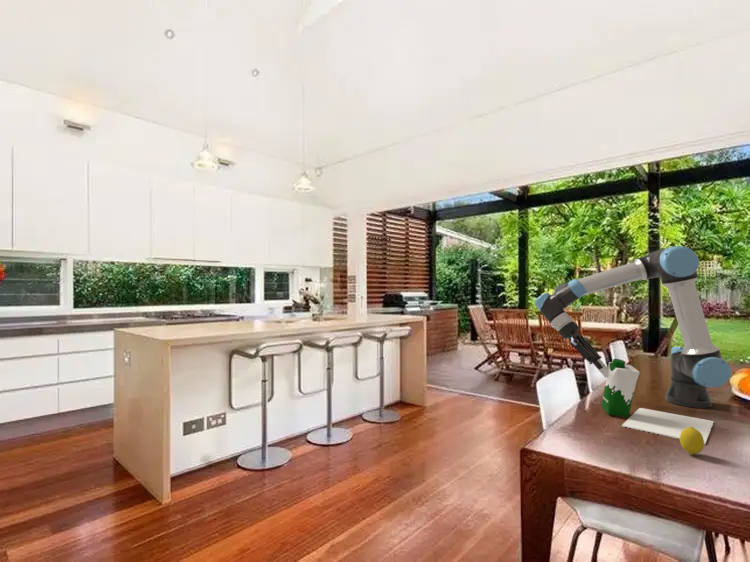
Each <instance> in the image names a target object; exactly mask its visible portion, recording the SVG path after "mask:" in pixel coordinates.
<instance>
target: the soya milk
mask: <svg viewBox="0 0 750 562" xmlns="http://www.w3.org/2000/svg"><path fill="white" fill-rule="evenodd" d="M607 367H608V376H607V377H606V381H605V385H604V390H603V395H602V400H601V405H600V406H601V408H602V409H603V410H604V411H605V412H606V414H607V415H609V416H616V417H621V416H624V417H623V418H628V417H629V418H630V413H631V408H632V403H633V398H634V394H635V391H636V390H635V389H636V385H637V381H638V378H639V376H640V372H641V371H639V370H638V369H636V368H635V367H634V366H632V365H631V364H626V361H625V360H623V359H619V358H613V359H612V361H608V366H607Z"/></svg>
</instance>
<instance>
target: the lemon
mask: <svg viewBox="0 0 750 562" xmlns="http://www.w3.org/2000/svg"><path fill="white" fill-rule="evenodd" d="M679 443H680V446H681V447H682V448H683V449H684V451H686V453H687V452H688V454H689V455H692V456H693V455H695V454H700V452H702V451H703V449H704V447H705V445H704V439H703V436H702V434H701V433H700V432H699V431H698V430H696V429H694V428H693V427H690V428H686V429H684V430H683V431H682V432H681V435H680V439H679Z"/></svg>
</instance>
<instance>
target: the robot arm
mask: <svg viewBox="0 0 750 562" xmlns="http://www.w3.org/2000/svg"><path fill="white" fill-rule="evenodd" d="M699 266H700V259H699V257H698V255H697V253H696V252H695V251H694V250H693V249H691V248H689V247H687V246H681V245H680V246H678V245H675V246H670V247H666V248H665V247H664V248H661V249H657V250H655V251H652V252H650V253H648V254H646V255H644V256H641V257H638V258H635V259H634V261H632V262H629V263H627V264H622V265H621V266H617V267H613V268H610V269H607V270H603V271H601V272H597V273H594V274H590V275H588V276H585V277H581V278H578V279H577V278H573V279H572V280H570V281H568V282H565V283H560V284H558V285H557V286H555V288H554V291H553V293H552V294H550V293H549V292H545V293H543V294H541V295H539V296H538V297H537V298H536V299H535V301H534V306H535V307H536V308H537V309H538V311H539V312H540V313H541V315H542V316H543V317H544V318H545V319H546V320H547V322H549V323H550V324H551V327H552V328H553V329H555V330H556V331H557V332H558V334H559V335H560V336H561V337H562V339H564V340H566V339H568V340H569V341H570V342H569V344H570V345H571V346H572V347H573V348H574V349H575V350H576V351H577V352H578V353H579V354H581V356H582V357H583V358H584V359H585V360H586V361H587V362H588V363H589V365H592V364H593V366H594V367H595V368H596V369H597V370H598V371H599V372H600V374H601V375H602V376H603V377H604V378H606V379H607V376H608V366H607V365H606V364H605V363H604V362H603V361H602V360H601V359H602V356H601V355H600V354H599V353H598V352H597V350H596V349H595V347H593V345H592V344H591V343H590V342H589V340H588V338H587V337H584V336H583V335H582V334H580V333H579V332H578V331H579V330H580V326H579V325H578V324H577V323H576V322H575V321H573V318H572V316H570V315H569V314H568V312H566V311H565V309H566V308H568V307H569V306H571V304H573V303H575V302H576V301H577V300H579V299H581V298H583V296H587V295H590V294H594V293H597V292H601V291H604V290H607V289H611V288H614V287H617V286H621V285H624V284H625V285H626V284H628V283H631V282H634V281H638V280H643V281H646V280H649V279H654V278H659V279H660V282H661V285H662V286H664V287H665V288H667V290H668V293H669V297H670V300H671V304H672V307H673V310H674V314H675V317H676V320H677V321H676V322H677V324H678V328H679V331H680V335H681V338H682V342H683V345H684V346H673V347H672V348H671V351H670V352H671V353H670V384H669V386H668V389H667V391H666V393H665V400H666V402H668V403H671V404H675V405H677V406H682V407H689V408H696V409H707V408H712V406H713V405H712V404H713V403H712V402H713V400H712V398H711V395H710V392H709V389H708V388H713V389H714V388H720V387H722V386H724V385H725V384H726V383H727V382H728V381H729V380H730V378H731V375H732V369H731V367H730V365H729V363H728V362H727V361H726V360H724V359H723V358H722V355H721V351H720V348H719V347H718V346H716V345H714V343H713V342H712V338H711V335H710V334H711V333H710V331H709V328H708V324H707V321H706V317H705V313H704V310H703V307H702V303H701V300H700V297H699V293H698V289H697V286H696V282H697V280H698V279H699V274H698V273H697V270H698V268H699Z"/></svg>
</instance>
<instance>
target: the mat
mask: <svg viewBox="0 0 750 562" xmlns="http://www.w3.org/2000/svg"><path fill="white" fill-rule="evenodd" d="M713 423H715V422H714V420H708V419H702V418H699V417H693V416H688V415H682V414H676V413H671V412H670V413H669V412H667V411H659V410H654V409H649V408H645V407H639V408H638V409H636V411H635V412H634V413H633V414H632V415H631V416H629V418H628V419H627V420H625V421H624V422H623V423H622V425H621V428H625V427H627V428H626V429H629V428H631V429H630V430H634V429H635V431H639V430H640V431H639V432H643V431H645V432H644V433H648V432H650V433H649V434H653V433H655V434H654V435H657V434H659V435H658V436H662V435H663V436H662V437H666V436H667V438H672V439H676V440H680V435H681V432H682V431H683V430H684V429H686V428H690V427H693V428H694V429H696V430H698V431H699V432H700V433H701V434H702V436H703V439H704V446H705V445H706V443H707V441H708V438H709V436H710V433H711V431H712V429H711V428H713V426H714V424H713Z"/></svg>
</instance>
